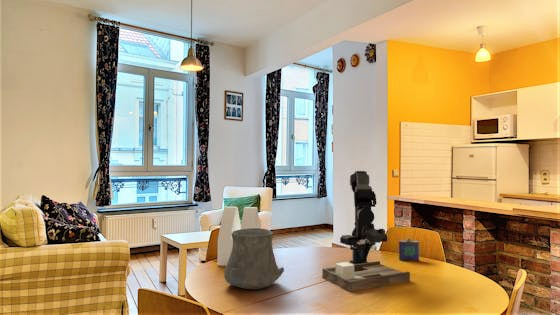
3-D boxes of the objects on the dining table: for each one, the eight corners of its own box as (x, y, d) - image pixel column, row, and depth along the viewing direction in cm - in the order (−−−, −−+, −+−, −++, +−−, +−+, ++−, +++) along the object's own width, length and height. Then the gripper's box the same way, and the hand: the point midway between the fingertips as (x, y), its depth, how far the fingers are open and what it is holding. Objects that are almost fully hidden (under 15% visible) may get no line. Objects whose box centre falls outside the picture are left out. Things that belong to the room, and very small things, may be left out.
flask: (418, 259, 173) (418, 237, 174) (420, 261, 170) (420, 238, 171) (398, 259, 174) (398, 236, 174) (400, 261, 171) (399, 238, 171)
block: (335, 275, 140) (335, 263, 140) (346, 273, 142) (346, 262, 142) (343, 279, 135) (343, 266, 135) (354, 277, 137) (354, 265, 138)
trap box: (322, 277, 145) (322, 268, 145) (378, 269, 157) (378, 261, 157) (349, 291, 129) (349, 281, 129) (409, 281, 141) (409, 272, 141)
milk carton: (231, 255, 182) (231, 204, 182) (261, 256, 179) (261, 205, 180) (217, 265, 163) (217, 209, 164) (251, 267, 160) (251, 209, 161)
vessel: (277, 298, 122) (277, 238, 123) (214, 293, 127) (215, 235, 127) (289, 278, 144) (289, 227, 144) (235, 275, 148) (235, 225, 149)
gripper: (356, 225, 132) (356, 268, 132) (397, 221, 140) (397, 263, 139) (339, 220, 142) (339, 261, 142) (377, 218, 150) (378, 256, 149)
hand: (364, 260), depth 143 cm, fingers closed
